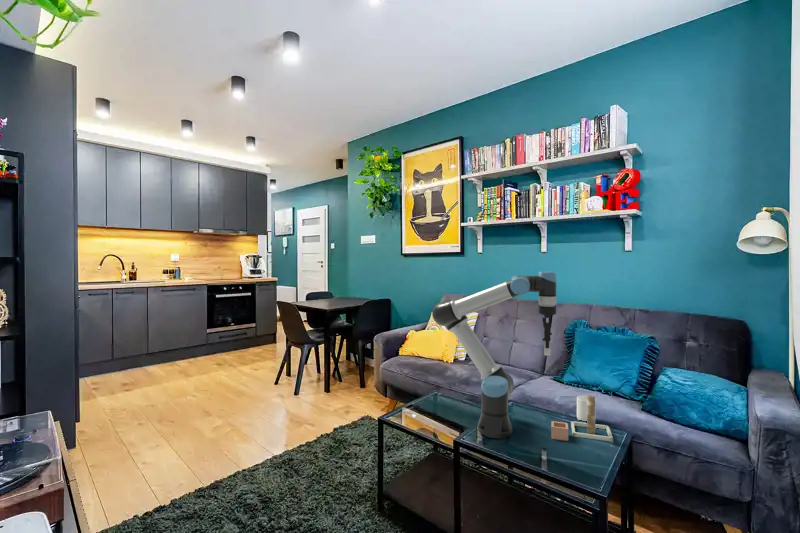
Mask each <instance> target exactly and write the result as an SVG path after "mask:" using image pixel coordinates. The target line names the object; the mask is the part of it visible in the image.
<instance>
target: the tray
mask: <svg viewBox="0 0 800 533" xmlns="http://www.w3.org/2000/svg"><path fill="white" fill-rule="evenodd" d="M570 426H571V433H572V437H576V438H583V439H589V440H595V441H596V440H597V441H604V442H610V443H611V444H612V445H614V437H613V435H612V431H611V429H610V426H609V425H606V424H597V423H595V429H597V428H599V429H598V430H605V429H606V430H605V431H606V433H607V436H606V435H600V434H589V433H586V432H585V433H584V432H577V431H576V428H575V427H583V428H587V423H586V422H582V421H575V420H574V421H573V420H571V421H570Z"/></svg>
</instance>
